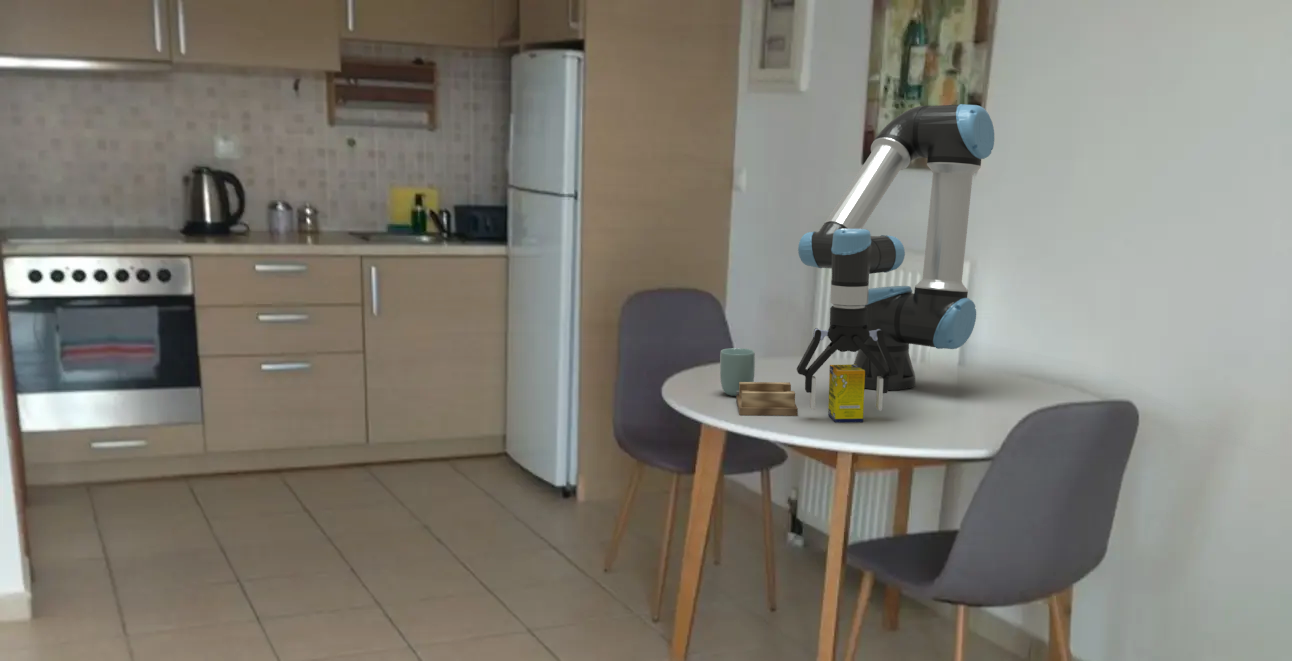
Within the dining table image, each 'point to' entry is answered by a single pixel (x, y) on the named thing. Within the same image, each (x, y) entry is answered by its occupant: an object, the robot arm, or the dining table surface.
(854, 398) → the supplement box
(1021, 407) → the dining table surface
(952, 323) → the robot arm
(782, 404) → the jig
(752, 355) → the cup
